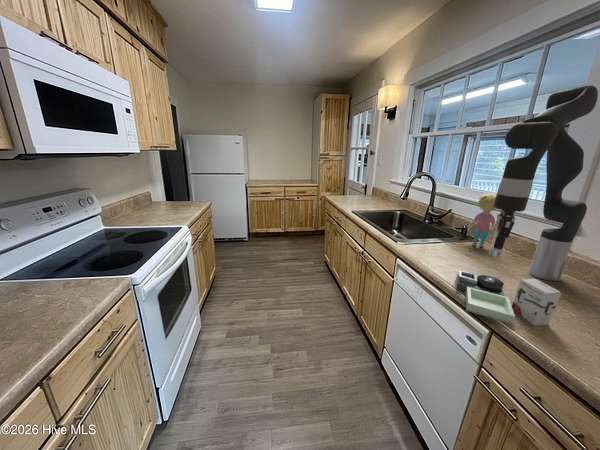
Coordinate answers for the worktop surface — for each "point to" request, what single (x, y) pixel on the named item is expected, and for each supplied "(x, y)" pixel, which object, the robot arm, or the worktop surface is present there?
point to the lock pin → (493, 251)
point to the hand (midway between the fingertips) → (497, 246)
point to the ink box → (535, 301)
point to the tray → (489, 305)
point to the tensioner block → (478, 283)
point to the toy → (484, 218)
